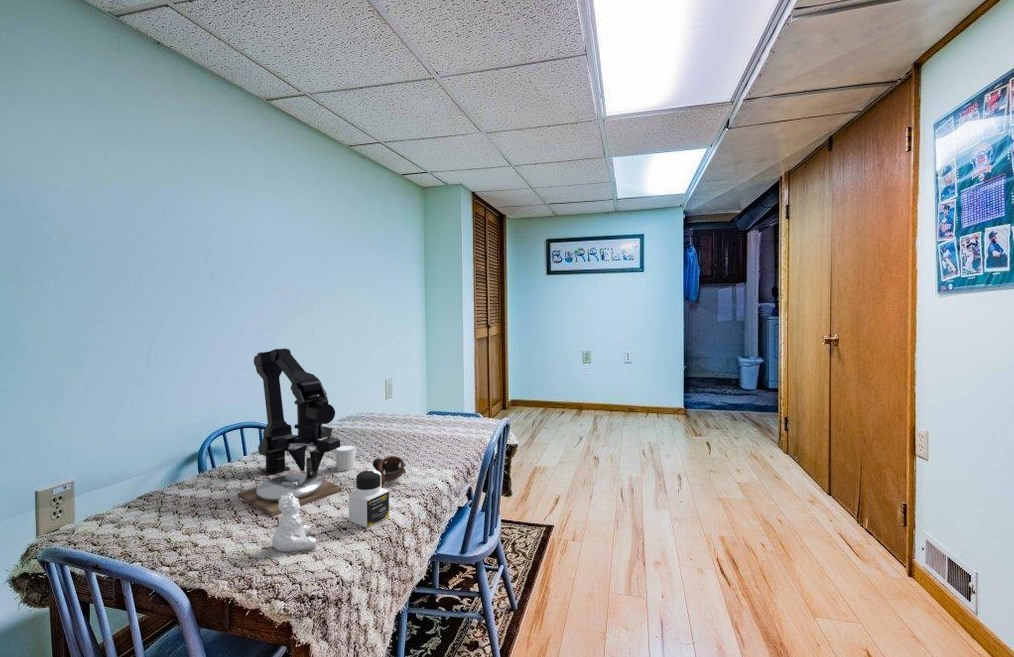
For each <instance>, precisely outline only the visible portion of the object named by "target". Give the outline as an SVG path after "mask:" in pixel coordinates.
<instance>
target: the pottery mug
mask: <svg viewBox="0 0 1014 657" xmlns="http://www.w3.org/2000/svg"><path fill="white" fill-rule="evenodd" d="M372 466H373V468H374V470H376V471H379V472H380V473H381V485H383V484H384V485H385V484H386V483H389V482H392V481H395V480H398V479H399V478H401V477H402V476H403V475H404V474H406V473H407V470H406V469H405V467H406V466H407V465H406V463H405V462H404V460H403V459H402V458H401V457H398V456H396V455H390V456H389V455H388V456H386V457H384V458H380V457H378V458H374V459H373V461H372ZM384 472H385V473H384ZM402 474H403V475H402Z"/></svg>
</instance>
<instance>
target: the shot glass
mask: <svg viewBox="0 0 1014 657" xmlns="http://www.w3.org/2000/svg"><path fill="white" fill-rule="evenodd" d="M356 453H357V446H356V445H352V444H347V445H340V447H339V448H336V449H334V454H335V463H336V470H337V471H338V470H340V471H339V472H345V471H344V470H349V471H352V470H354V469H355V468H354V467H355V464H356V455H357V454H356ZM353 468H354V469H353ZM351 469H352V470H351Z"/></svg>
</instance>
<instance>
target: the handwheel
mask: <svg viewBox="0 0 1014 657" xmlns="http://www.w3.org/2000/svg"><path fill="white" fill-rule="evenodd" d="M305 469H306V471H305V472H301V473H300V472H299V473H298V472H297V473H289V474H284V475H280V476H279V475H278V476H275V477H272V478H270V479H268V480H265V481H263V482H262V483H260V484H259V485H258V486H256V487H257V490H256V493H257V497H258V498H259V499H261V500H263V501H269V502H278V501H279V500H280V499H281V496H282V495H283V496H285V495H286V494H287V493H293V495H294V497H295V498H297V499H300V498H303V497H306V496H309V495H311V494H313V493H315V492H317V491H318V490H320V489H321V487H322V479H323V478H322V477H321V476H320V474H319V475H318V471H317V472H314V471H313V467H312V462H311V457H310V456H308V457H305Z"/></svg>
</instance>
